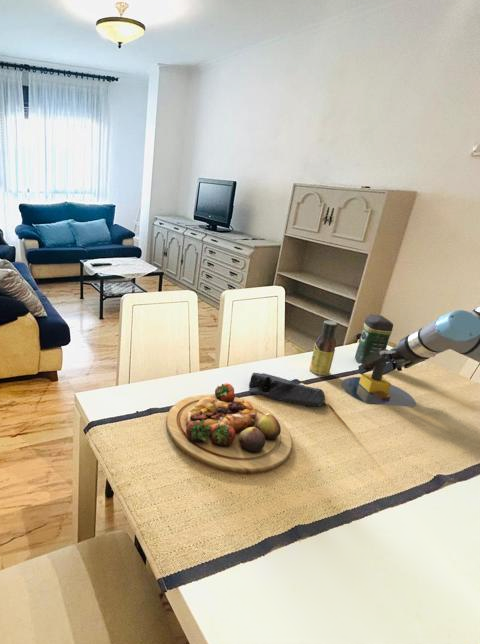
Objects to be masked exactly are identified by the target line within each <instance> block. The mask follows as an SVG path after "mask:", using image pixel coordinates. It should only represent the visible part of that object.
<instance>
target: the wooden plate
mask: <svg viewBox="0 0 480 644" xmlns="http://www.w3.org/2000/svg"><path fill="white" fill-rule="evenodd" d="M214 390H215V391H214V393H205V394H196V395H191V396H188V397H186V398H184V399H181V400H179V401H177V402H176V403H175V404H173V406H172V407H170V409H169V411H168V412H167V415H166V419H165V428H166V431H167V434H168V436H169V438H170V439H171V441H172V443H173V444H174V445H175V446H176V447H177V448H178V449H179V450H180V451H181V452H182V453H183V454H184V455H186V456H187V457H189V458H190V459H192V460H194V461H195V462H198V463H199V464H201V465H204V466H206V467H208V468H211V469H214V470H216V471H221V472H224V473H229V474H235V475H259V474H266V473H269V472H272V471H274V470H276V469H278V468H280V467H282V466H283V465H284V464H285V463H286V462H287V461H288V460H289V458H290V456H291V454H292V452H293V438H292V436H291V433H290V431H289V429H288V428H287V426H286V424H284V423H283V421H282V420H281V419H280V418H278V416H276V415H275V414H274V413H273V412H271V411H269V410H268V409H266V408H265V407H263V406H261V405H259V404H257V403H255V402H253V401H249V400H246V399H244V398H240V397H236V395H235V387H233V385H232V384H231V383H228V382H227V383H226V382H225V383H222V384H221V385H220V386H219V385H217V386H216V388H215V389H214Z"/></svg>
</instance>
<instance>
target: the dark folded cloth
mask: <svg viewBox="0 0 480 644" xmlns="http://www.w3.org/2000/svg"><path fill="white" fill-rule="evenodd" d="M248 388H249V389H248V390H249V391H248V392H249V393H250V394H252V395H254V396H256V395H257V396H261V397H263V398H267V399H272V400H275V401H284V402H287V403H290V404H296V405H301V406H306V407H308V406H313V407H315V406H316V407H321V406H322V405H324V402H325V400H326V398H325V397H326V395H325V393H324V391H323V389H322V388H318V387H311V386H307V385H304V384H300V383H297V382H295V381H293V380H290V379H289V380H288V379H286V378H283V377H280V376H276V375H272V374H268V373H263V372H262V373H260V372H252V374H251V376H250V379H249V383H248ZM264 389H266V390H268V392H264Z"/></svg>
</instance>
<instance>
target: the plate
mask: <svg viewBox="0 0 480 644" xmlns="http://www.w3.org/2000/svg"><path fill="white" fill-rule="evenodd" d="M360 378H361V376H351V377H346V378H343V380H341V381H340V382H341V383H340V384H341V385H340V386H341V388H342V389H343V391H344V392H345V393H347V395H349V396H351V397H352V398H354V399H355V400H358V401H359V402H362V403H364V404H367V405H377V406H393V407H409V408H414V407H415V406H416V401H415V399H414V398H413V396H412V395H411V394H410V393H408V392H407V391H405V390H403V389H402V388H400V387H398V386H396V385H394V384H391V386H390V390H389V393H388V395H389V396H391V397H390V399H386V400H380V399H379V398H377V397H376V396H374V395H373V393H369V392H368V391H367V390H366V389H365V388H364V387H362V386H361V385H360V384H359V381H360Z"/></svg>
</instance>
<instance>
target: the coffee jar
mask: <svg viewBox="0 0 480 644" xmlns="http://www.w3.org/2000/svg"><path fill="white" fill-rule="evenodd" d="M393 328H394V323H393V322H392V321H390V320H389V319H388V318H386V317H385V316H383V315H381V314H380V315H379V314H373V313H372V314H369V315H367V316H366V317H365V319H364V322H363V327H362V331H361V334H360V339H359V342H358V345H357V348H356V352H355V354H354V360H355V361H356V362H357V363H358V364H360V365H362V364H363V358H365V357H367V356H369V355H371V354H373V353H375V352H377V351H378V350H379V349H381V348H384V349H387V347H388V344H389V343H388V342H389V340H390V337H391V335H392V333H393Z"/></svg>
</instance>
